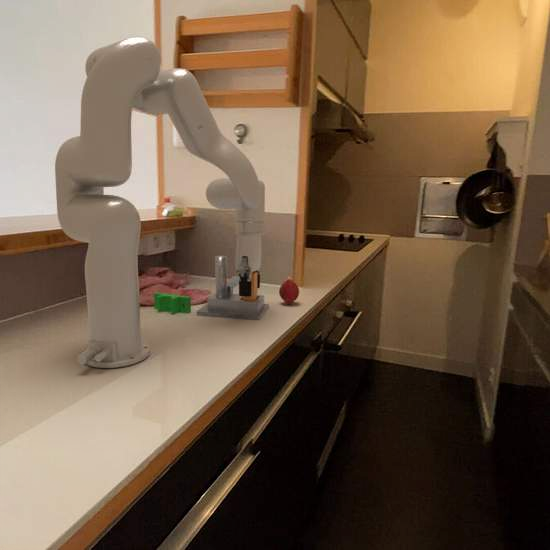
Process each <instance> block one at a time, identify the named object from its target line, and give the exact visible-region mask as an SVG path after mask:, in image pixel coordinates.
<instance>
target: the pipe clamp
mask: <svg viewBox="0 0 550 550" xmlns="http://www.w3.org/2000/svg"><path fill="white" fill-rule="evenodd" d="M153 296H154V301H153V302H154V303H153V304H154V309H155V310H156V312H157V313H164V312H169V313H171V314H170V315H175V314H176V315H177V314H178V313H181V314H182V313H183V314H191V313H192V312H191V311H192V299H191V298H192V297H191V296H187V295H186V296H185V295H179V294H171V293H163V292H154V294H153Z"/></svg>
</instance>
